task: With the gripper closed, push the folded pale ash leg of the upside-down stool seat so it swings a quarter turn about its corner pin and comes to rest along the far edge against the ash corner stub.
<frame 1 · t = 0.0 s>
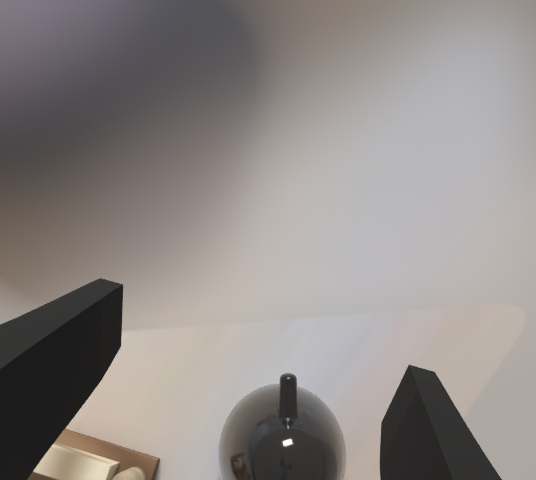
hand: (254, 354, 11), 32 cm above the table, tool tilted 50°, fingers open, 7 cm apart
hinged leg: (61, 462, 36), point 3 cm above the table, hinge at 90.0°
dark grey tapered dome: (279, 443, 39), on the table
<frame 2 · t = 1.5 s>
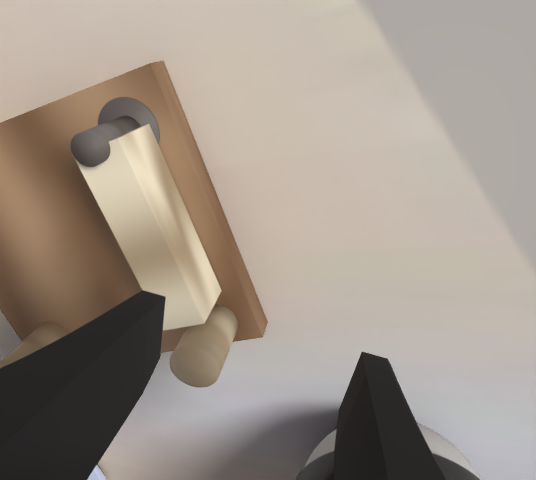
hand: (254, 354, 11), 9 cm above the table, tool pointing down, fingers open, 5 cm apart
stool seat: (97, 239, 22), on the table
hinged leg: (150, 227, 17), point 3 cm above the table, hinge at 90.0°
dark grey tapered dome: (389, 449, 25), on the table
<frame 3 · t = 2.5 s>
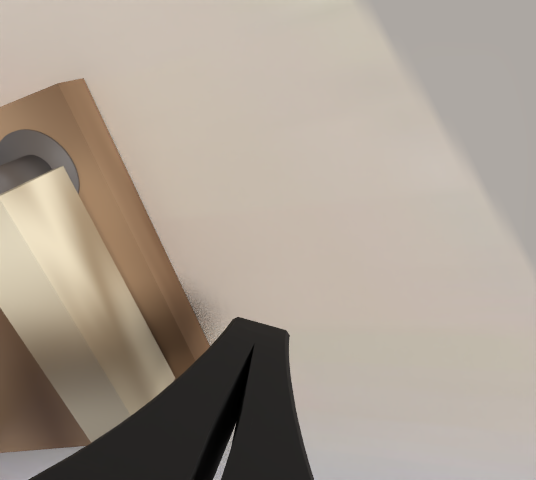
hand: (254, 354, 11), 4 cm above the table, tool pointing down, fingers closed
stool seat: (19, 304, 17), on the table
hinged leg: (67, 308, 13), point 3 cm above the table, hinge at 90.0°
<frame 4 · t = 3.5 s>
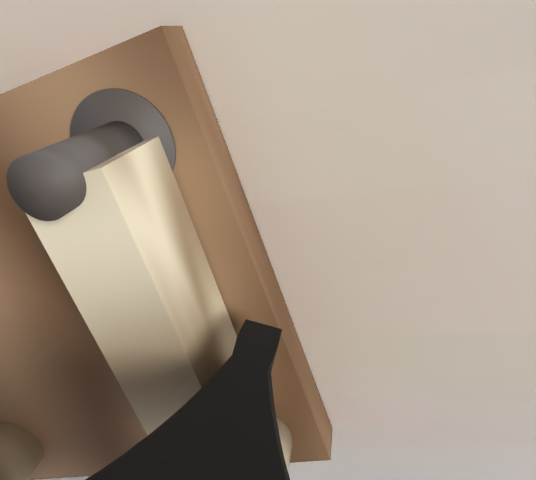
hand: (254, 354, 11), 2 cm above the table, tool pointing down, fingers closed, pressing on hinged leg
stool seat: (76, 307, 14), on the table
hinged leg: (155, 313, 10), point 3 cm above the table, hinge at 87.7°, touching gripper
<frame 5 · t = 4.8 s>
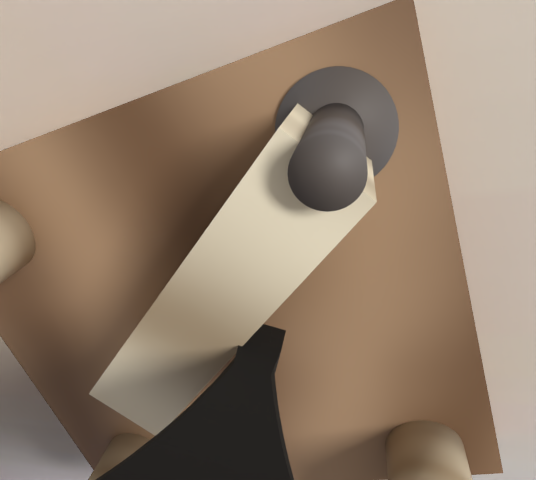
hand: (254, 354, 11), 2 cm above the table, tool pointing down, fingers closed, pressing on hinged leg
stool seat: (219, 310, 13), on the table
hinged leg: (225, 281, 10), point 3 cm above the table, hinge at 35.5°, touching gripper
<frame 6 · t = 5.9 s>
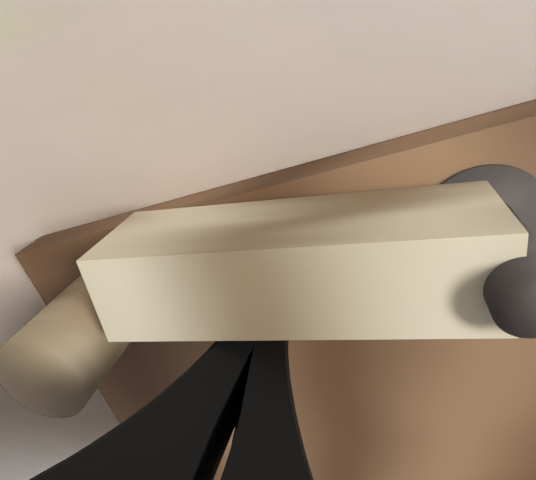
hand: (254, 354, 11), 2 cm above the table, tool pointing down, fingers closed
stool seat: (320, 370, 14), on the table
hinged leg: (304, 269, 9), point 3 cm above the table, hinge at -9.4°, touching gripper
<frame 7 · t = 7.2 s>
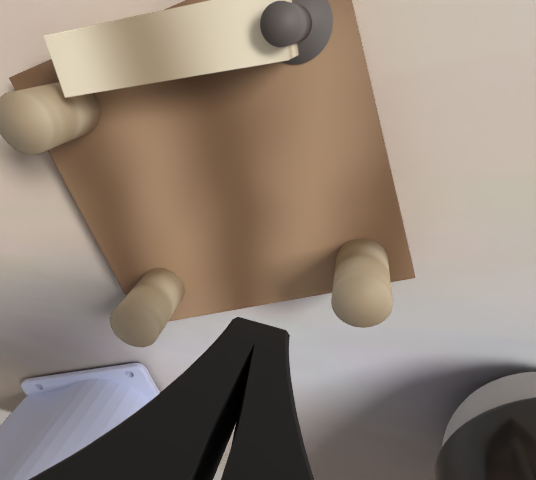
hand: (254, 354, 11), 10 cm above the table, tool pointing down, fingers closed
stool seat: (222, 170, 19), on the table
hinged leg: (181, 44, 15), point 3 cm above the table, hinge at -9.5°
dark grey tapered dome: (529, 411, 22), on the table
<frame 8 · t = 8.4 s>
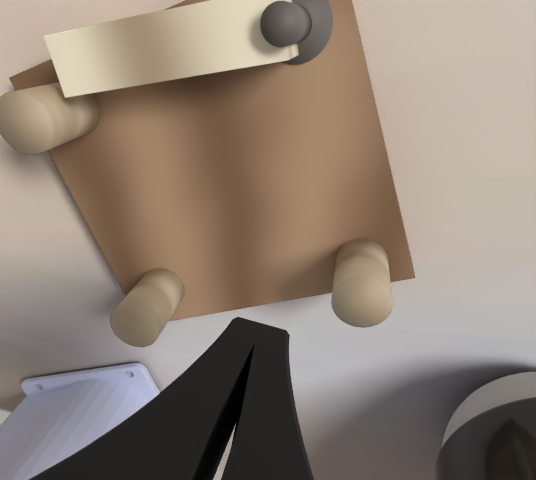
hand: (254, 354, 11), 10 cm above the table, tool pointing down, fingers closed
stool seat: (222, 170, 19), on the table
hinged leg: (181, 44, 15), point 3 cm above the table, hinge at -9.5°
dark grey tapered dome: (529, 411, 22), on the table
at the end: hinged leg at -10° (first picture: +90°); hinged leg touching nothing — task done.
